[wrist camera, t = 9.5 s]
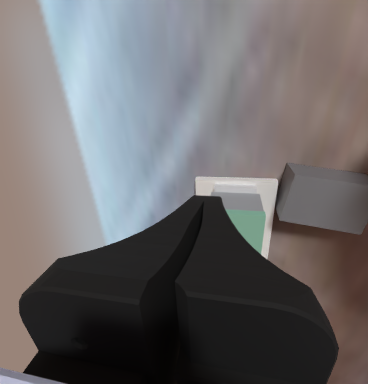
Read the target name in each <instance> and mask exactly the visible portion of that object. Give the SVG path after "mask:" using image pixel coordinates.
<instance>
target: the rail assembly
mask: <svg viewBox="0 0 368 384" xmlns="http://www.w3.org/2000/svg"><path fill="white" fill-rule="evenodd" d="M195 183H196V195H201V196H220V197H221V198H222V202H223V205H224V208H225V210H226V212H227V214H228V216H229V217H230V219H231V221H232V222H233V224H234V225H235V227H236V228H237V230H238V231H239V232H240V234H241V235H242V236H243V237H244V238H245V240H246V241H247V242H248V243H249V244H250V245H251V246H252V247H253V248H254V249H255V250H257V251H258V252H259V253H260V254H261V255H262V256H263V257H265V258H266V259H267V257H268V251H269V244H270V237H271V230H272V223H273V216H274V209H275V202H276V195H277V188H278V180H277V179H269V178H232V177H196V180H195Z"/></svg>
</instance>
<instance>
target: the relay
mask: <svg viewBox="0 0 368 384" xmlns="http://www.w3.org/2000/svg"><path fill="white" fill-rule="evenodd" d="M275 208H276V211H277V214H278V217H279V220H280V221H285V222H291V223H296V224H302V225H308V226H313V227H319V228H325V229H330V230H336V231H342V232H347V233H353V234H359V235H361V233H362V231H363V230H364V228H365V226H366V224H367V223H368V175H366V174H363V173H356V172H349V171H342V170H335V169H328V168H320V167H313V166H306V165H299V164H292V163H287V165H286V168H285V171H284V174H283V177H282V181H281V184H280V187H279V190H278V193H277V197H276V202H275Z"/></svg>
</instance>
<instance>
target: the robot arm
mask: <svg viewBox="0 0 368 384" xmlns="http://www.w3.org/2000/svg"><path fill="white" fill-rule="evenodd" d="M19 313H20V316H21V318H22V321H23V323H24V325H25V327H26V328H27V330H28V332H29V334H30V336H31V338H32V339H33V341H34V343H35V345H36V346H37V348H38V350H39V351H38V353H37V354H36V356H35V357H34V358H33V359H32V361H31V362H30V364H29V365H28V366H27V368H26V369H25V371H24V372H23V373H20V372H16V371H12V370H8V369H4V368H0V384H327V381H328V379H329V377H330V374H331V372H332V369H333V367H334V365H335V362H336V360H337V356H338V349H339V347H338V344H337V341H336V338H335V335H334V332H333V329H332V327H331V325H330V322H329V320H328V318H327V316H326V314H325V312H324V311H323V309H322V307H321V305H320V303H319V302H318V300H317V298H316V296H315V295H314V293H313V291H312V289H311V288H310V287H308V286H307V285H305V284H303V283H302V282H300V281H298V280H297V279H295V278H294V277H292V276H290V275H289V274H287V273H285V272H284V271H282V270H281V269H279V268H278V267H277V266H275V265H274V264H273V263H271V262H270V261H268V260H267V259H266V258H265V257H263V256H262V255H261V254H260V253H259V252H258V251H257V250H255V249H254V248H253V247H252V246H251V245H250V244H249V243H248V242H247V241H246V240H245V238H244V237H243V236H242V235H241V234H240V232H239V231H238V230H237V228H236V227H235V225H234V224H233V222H232V221H231V219H230V217H229V216H228V214H227V212H226V210H225V208H224V205H223V202H222V198H221V197H220V196H201V195H194V196H192V197H191V198H190V199H189V200H187V201H186V202H185V203H184V204H183V205H181V206H180V207H179V208H178V209H176V210H175V211H174V212H172V213H171V214H170V215H168V216H167V217H165V218H164V219H162V220H161V221H159V222H158V223H156V224H154V225H153V226H151V227H149V228H147V229H145V230H144V231H142V232H139V233H137V234H135V235H133V236H130V237H128V238H126V239H123V240H121V241H118V242H116V243H113V244H110V245H107V246H104V247H101V248H98V249H95V250H91V251H87V252H83V253H79V254H75V255H72V256H68V257H63V258H58V259H57V260H56V261H55V262H54V263H53V264H52V265H51V266H50V267H49V268H48V269H47V270H46V271H45V272H44V273H43V274H42V275H41V276H40V277H39V278H38V279H37V280H36V281H35V282H34V283H33V284H32V285H31V286H30V287H29V288H28V289H27V290H26V291H25V292H24V293H23V294H22V296H21V298H20V300H19Z"/></svg>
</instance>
